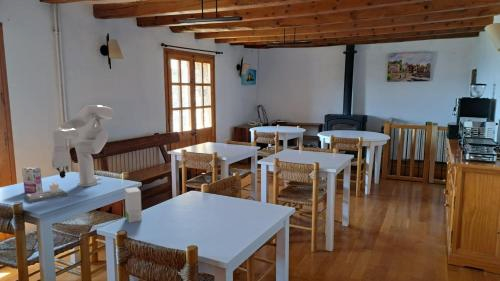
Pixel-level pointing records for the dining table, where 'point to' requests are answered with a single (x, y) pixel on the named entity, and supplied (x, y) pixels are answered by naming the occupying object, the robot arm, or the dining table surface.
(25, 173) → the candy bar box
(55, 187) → the fader knob
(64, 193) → the console
